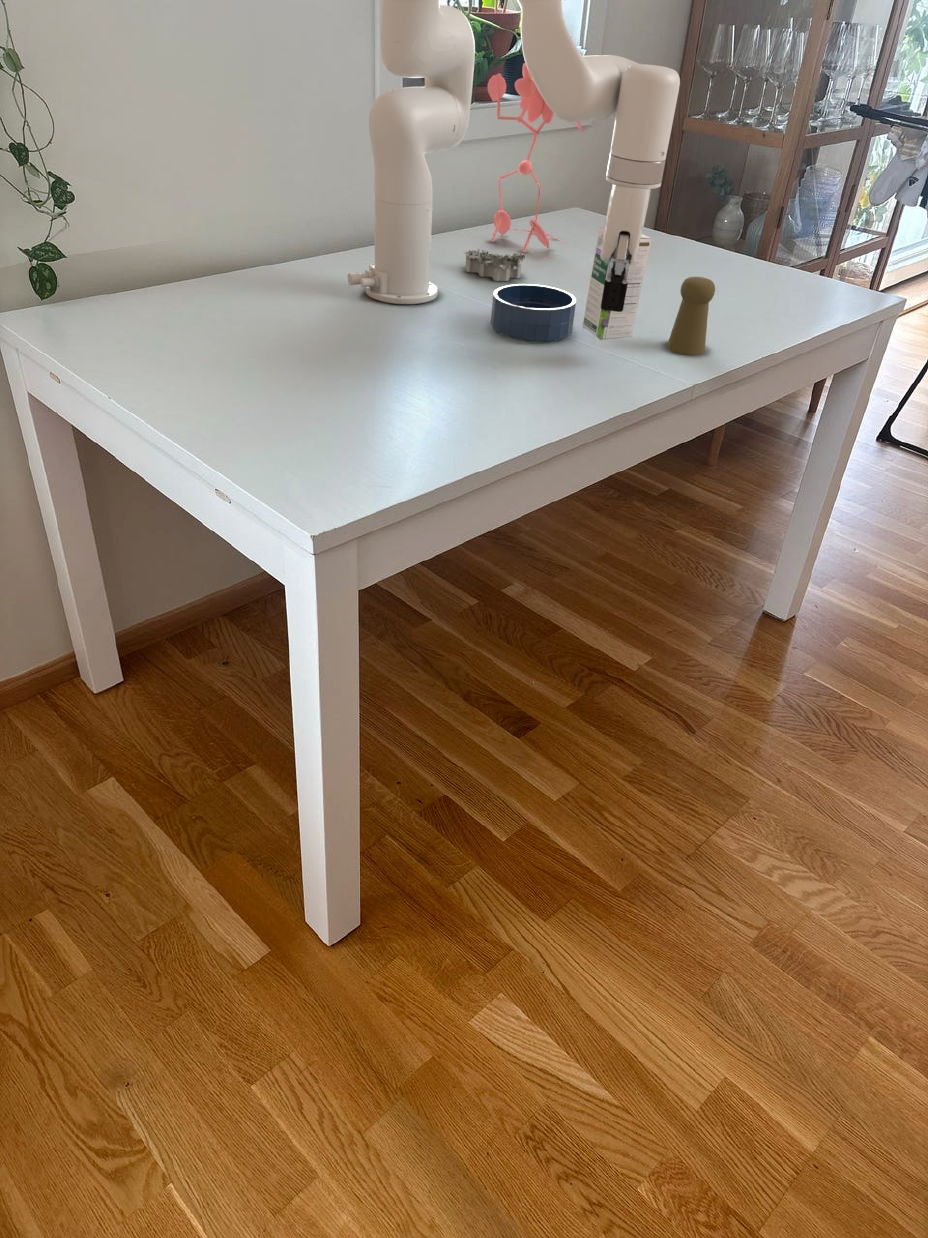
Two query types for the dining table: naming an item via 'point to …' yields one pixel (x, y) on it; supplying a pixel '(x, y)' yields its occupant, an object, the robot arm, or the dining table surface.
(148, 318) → the dining table surface
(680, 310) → the olive brown pawn
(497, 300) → the bowl
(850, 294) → the dining table surface
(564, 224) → the dining table surface
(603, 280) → the syrup box
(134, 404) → the dining table surface
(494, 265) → the egg carton
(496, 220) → the figurine
